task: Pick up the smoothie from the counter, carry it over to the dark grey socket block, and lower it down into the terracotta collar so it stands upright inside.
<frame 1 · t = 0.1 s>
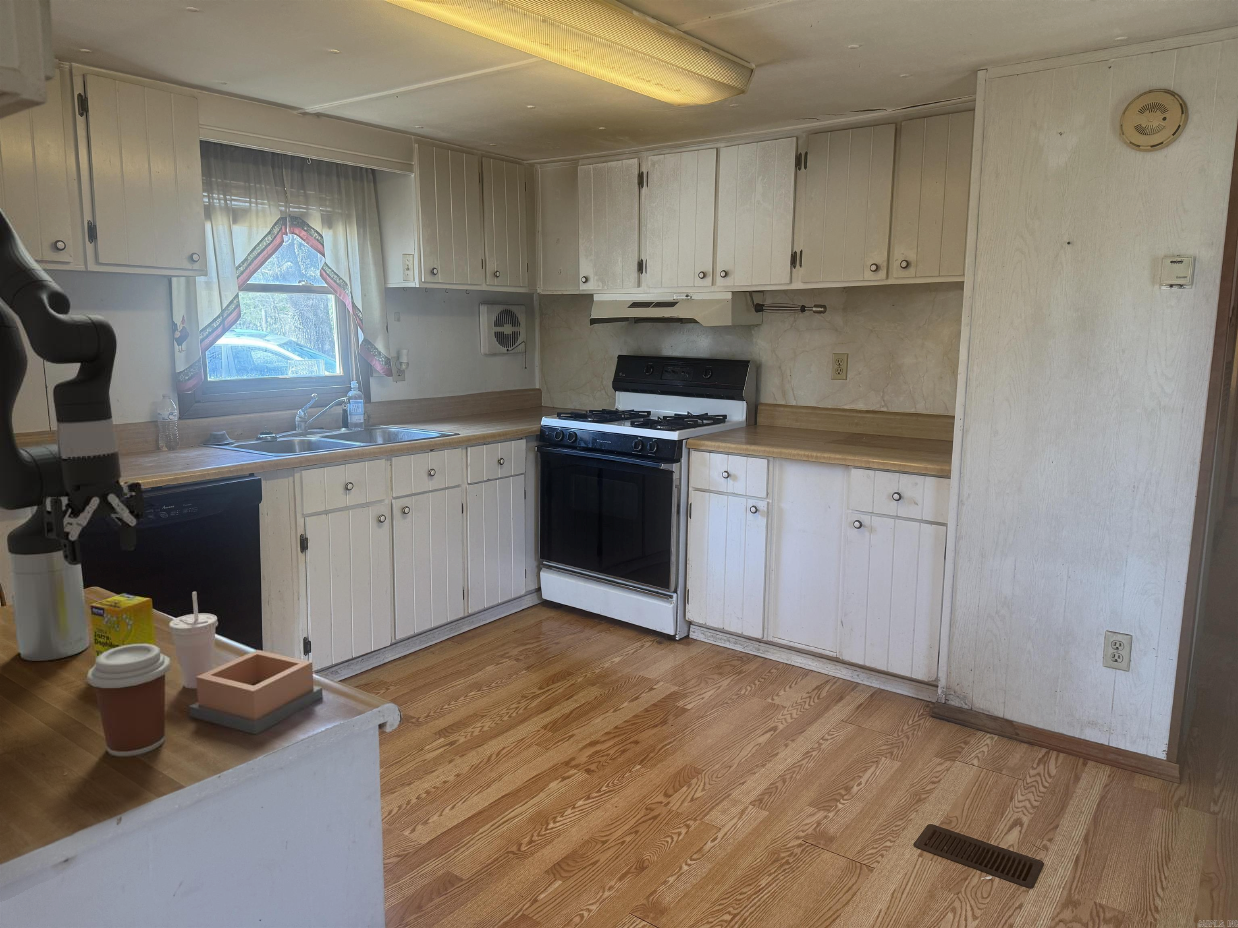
hand: (102, 556, 129), 17 cm above the counter, tool pointing down, fingers open, 8 cm apart
coffee cup: (137, 744, 108), on the counter
socket: (258, 706, 118), on the counter
supplement box: (127, 670, 130), on the counter
smoothie: (198, 684, 125), on the counter
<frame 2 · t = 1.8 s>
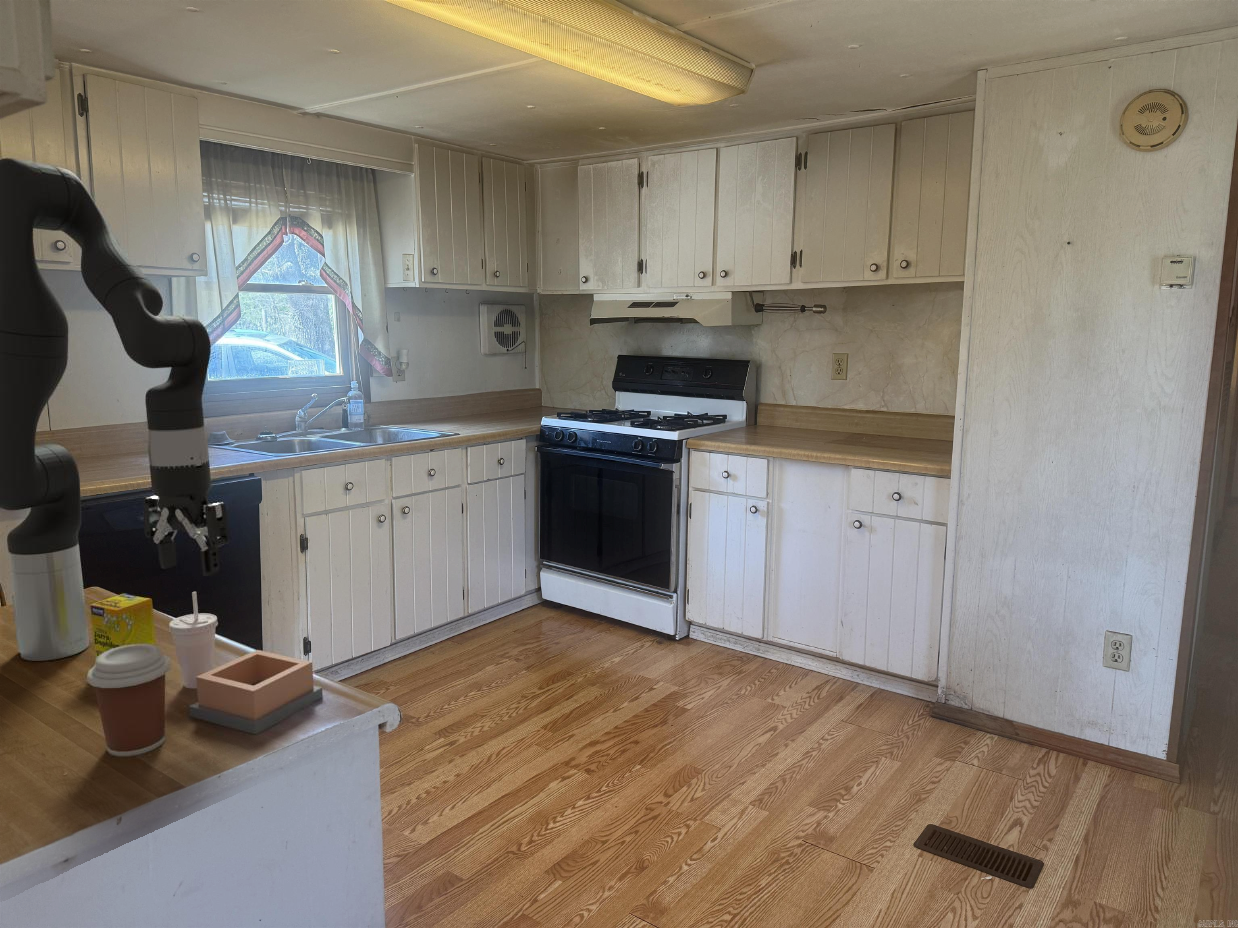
hand: (189, 570, 122), 17 cm above the counter, tool pointing down, fingers open, 8 cm apart
nothing on the counter moved.
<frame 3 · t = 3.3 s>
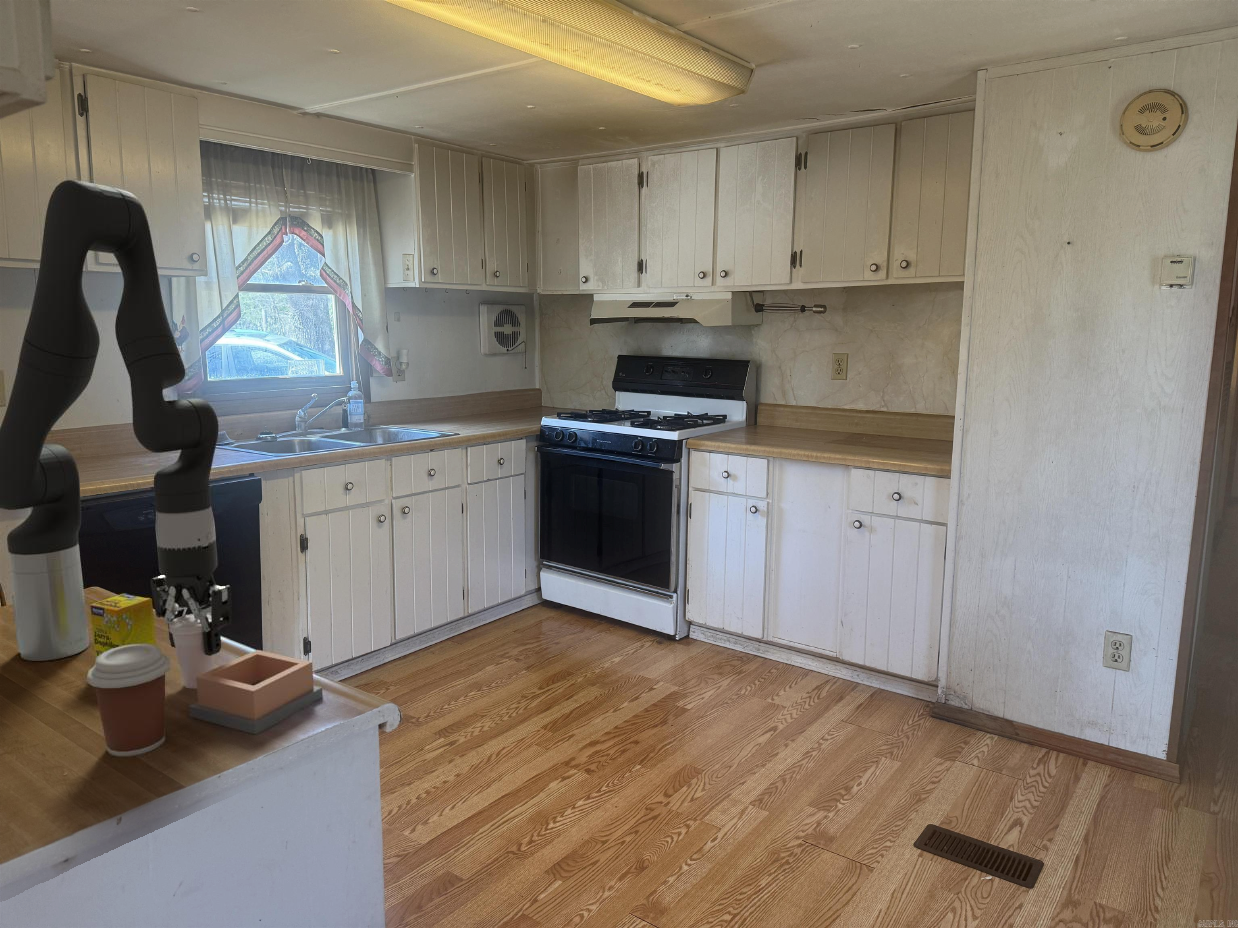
hand: (195, 649, 124), 5 cm above the counter, tool pointing down, fingers closed on smoothie, 6 cm apart
smoothie: (198, 684, 125), on the counter, touching gripper
everything else where it was.
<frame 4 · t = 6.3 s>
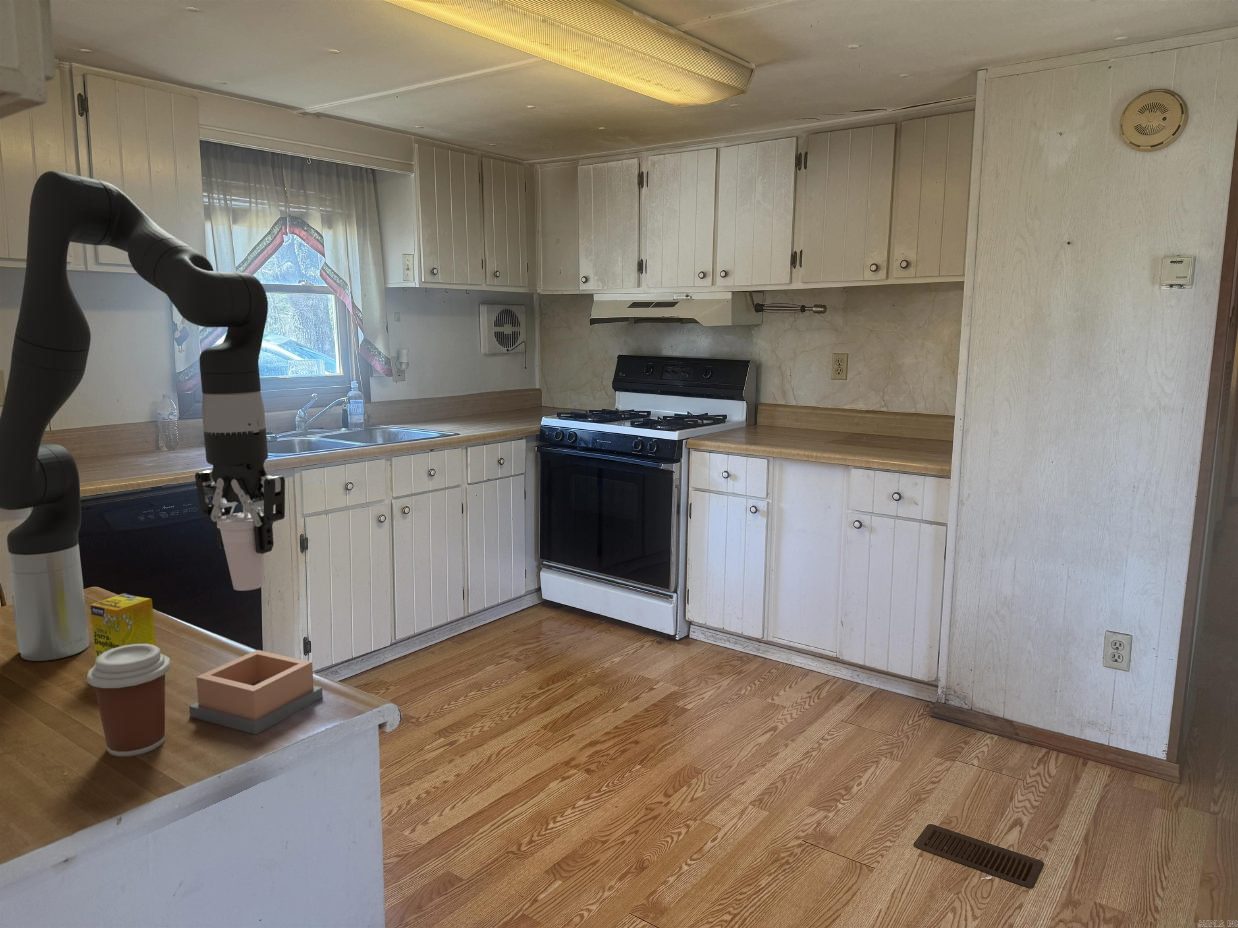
hand: (245, 549, 115), 22 cm above the counter, tool pointing down, fingers closed on smoothie, 6 cm apart
smoothie: (248, 587, 116), point 17 cm above the counter, touching gripper
everything else where it was.
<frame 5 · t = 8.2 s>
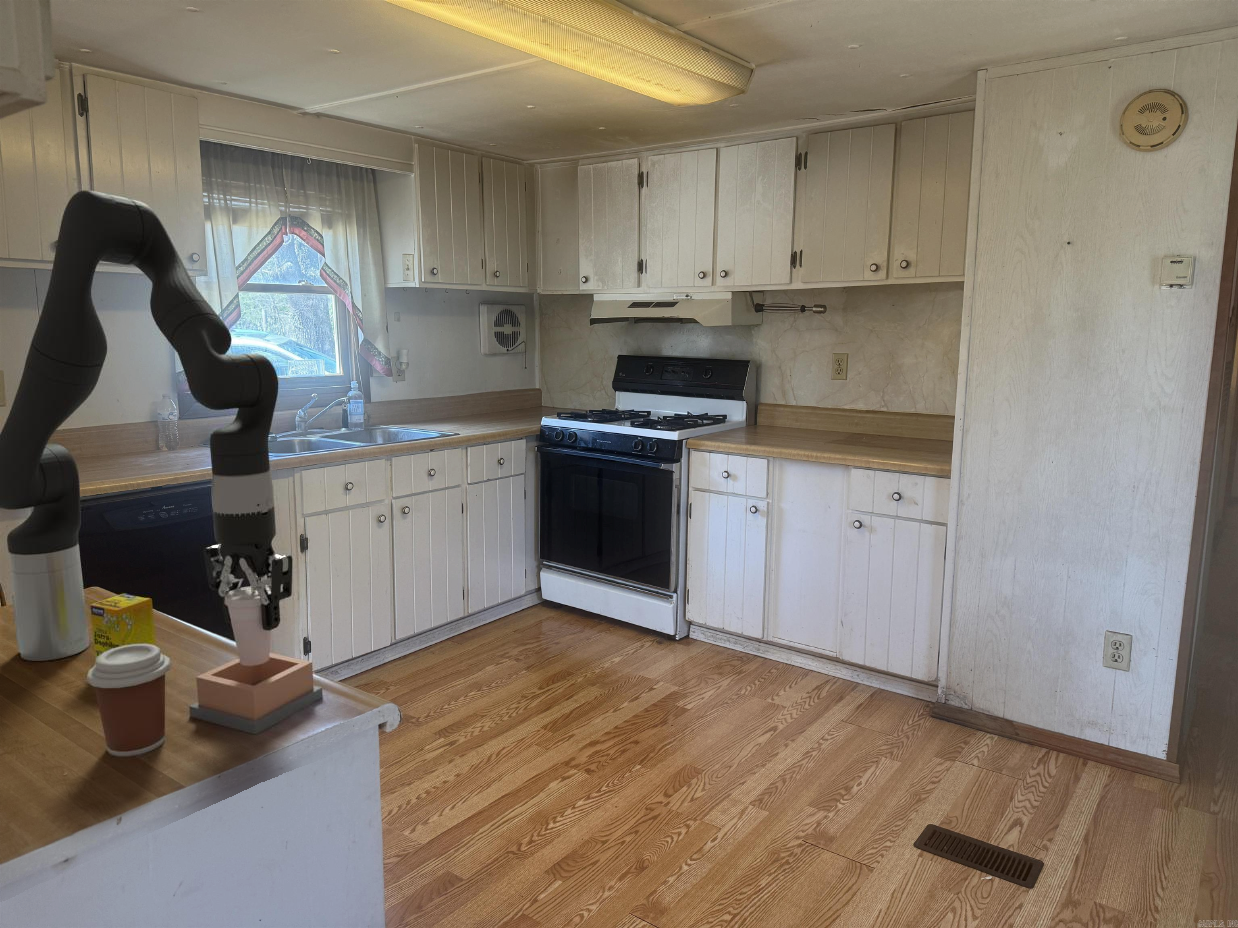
hand: (252, 624, 116), 12 cm above the counter, tool pointing down, fingers closed on smoothie, 6 cm apart
smoothie: (254, 661, 117), point 7 cm above the counter, touching gripper
everything else where it was.
when the fingers open (8 cm above the counter, at t = 9.6 s): smoothie drops 1 cm, resting on socket.
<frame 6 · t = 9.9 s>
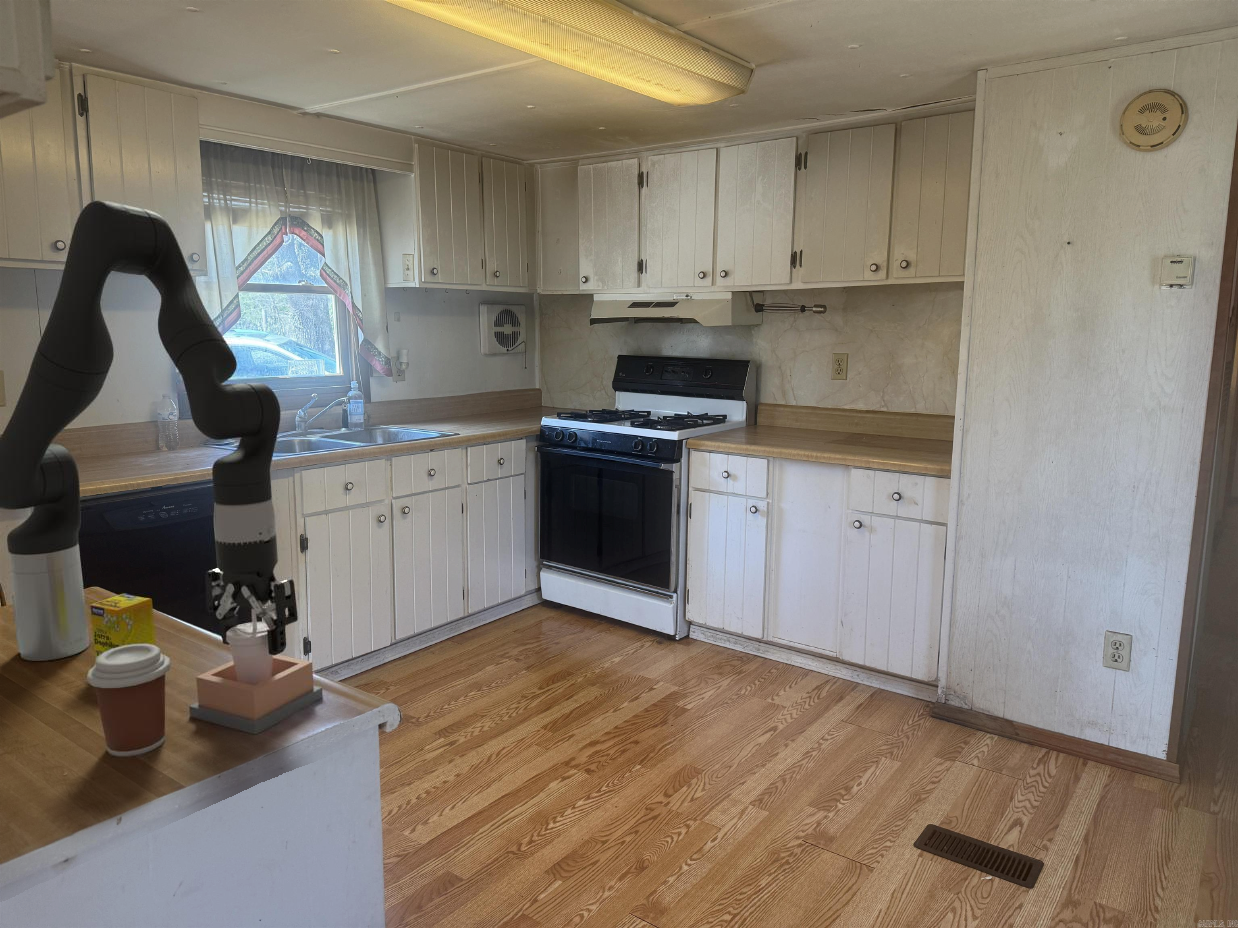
hand: (253, 647, 116), 9 cm above the counter, tool pointing down, fingers open, 8 cm apart
smoothie: (256, 697, 118), point 1 cm above the counter, touching socket
everything else where it was.
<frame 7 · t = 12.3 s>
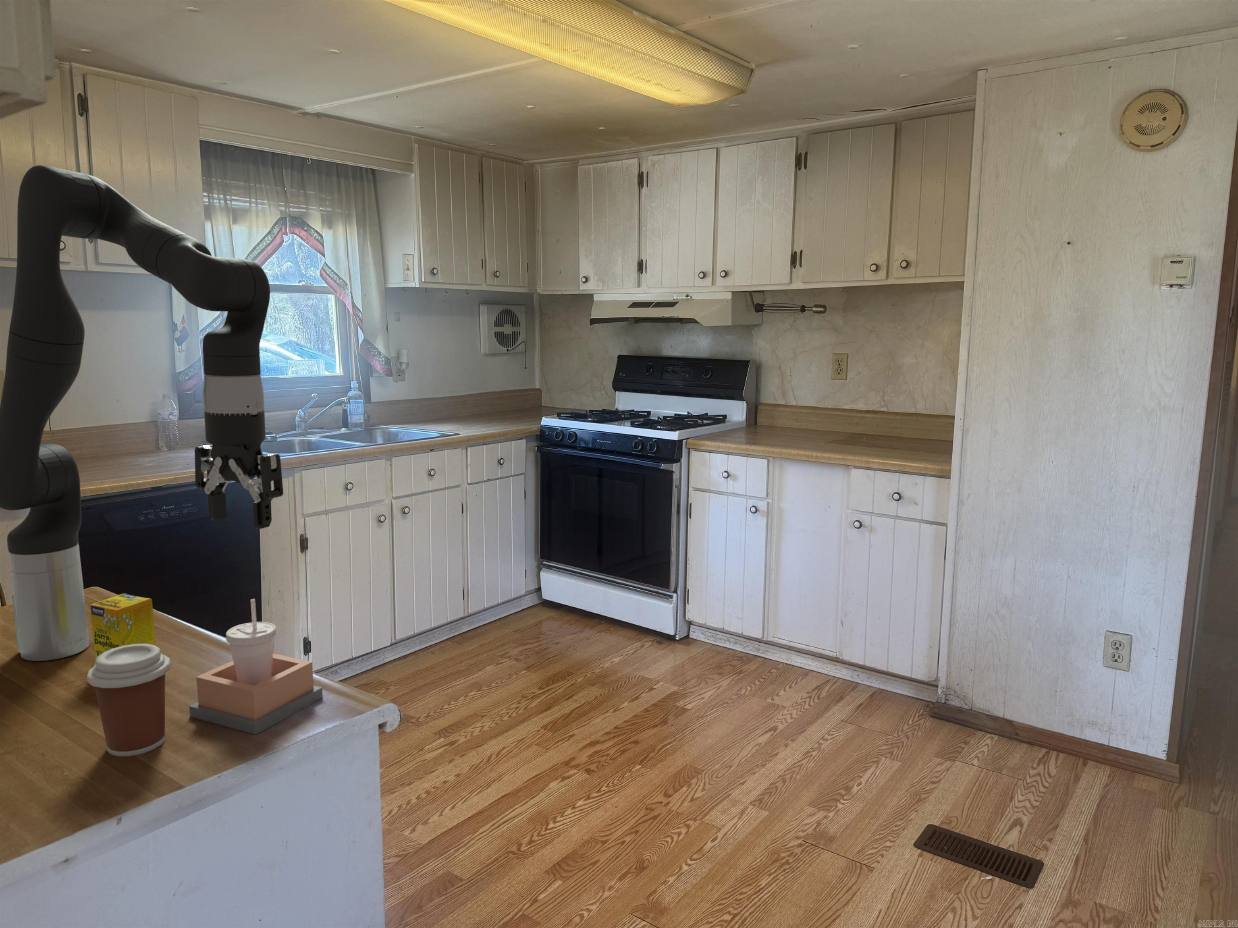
hand: (240, 523, 119), 25 cm above the counter, tool pointing down, fingers open, 8 cm apart
nothing on the counter moved.
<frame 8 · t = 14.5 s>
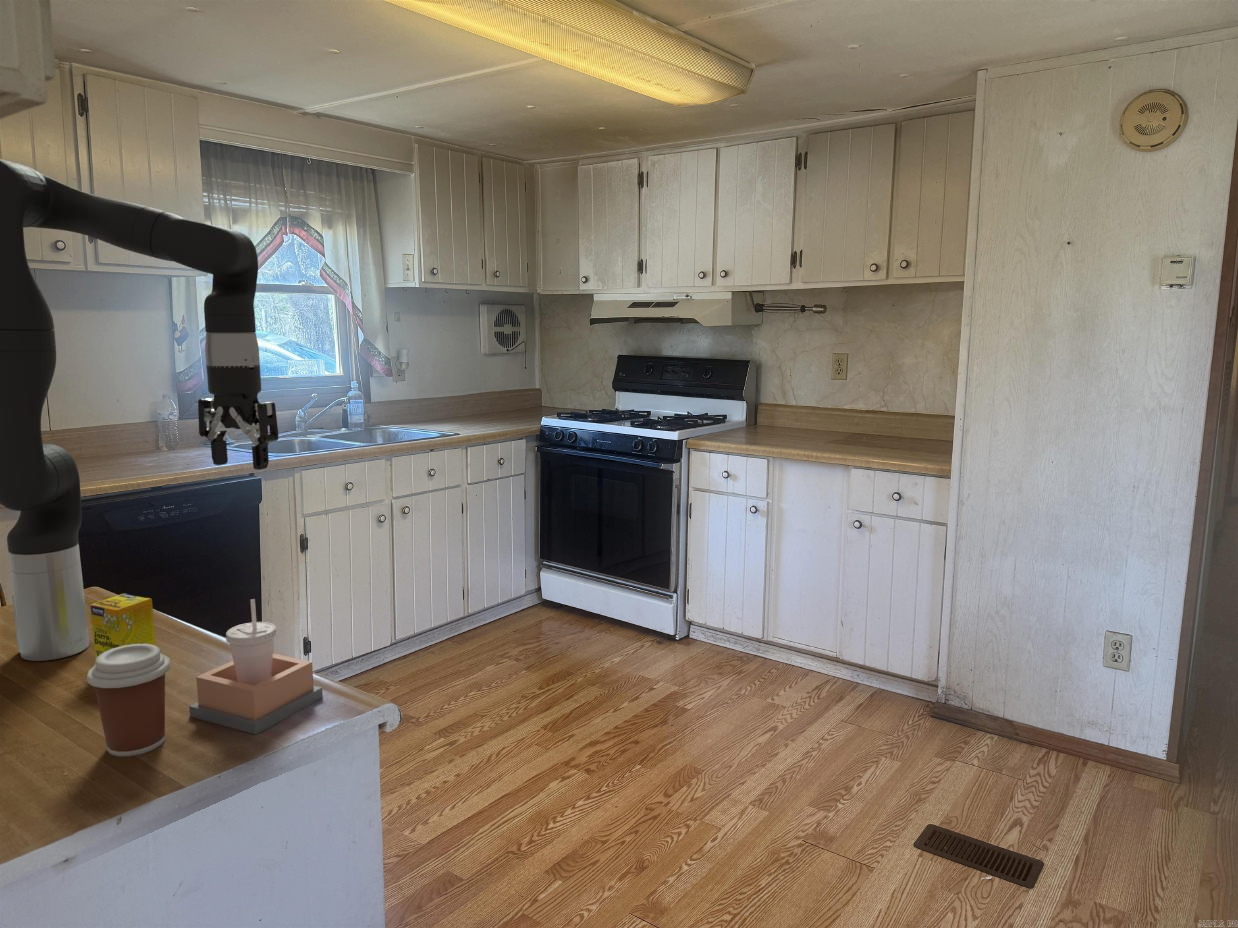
hand: (240, 466, 133), 30 cm above the counter, tool pointing down, fingers open, 8 cm apart
nothing on the counter moved.
at the end: smoothie 0.3 cm off-centre on the socket, point 1.3 cm above the socket's base; smoothie tilted 0°; the gripper is holding nothing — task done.
